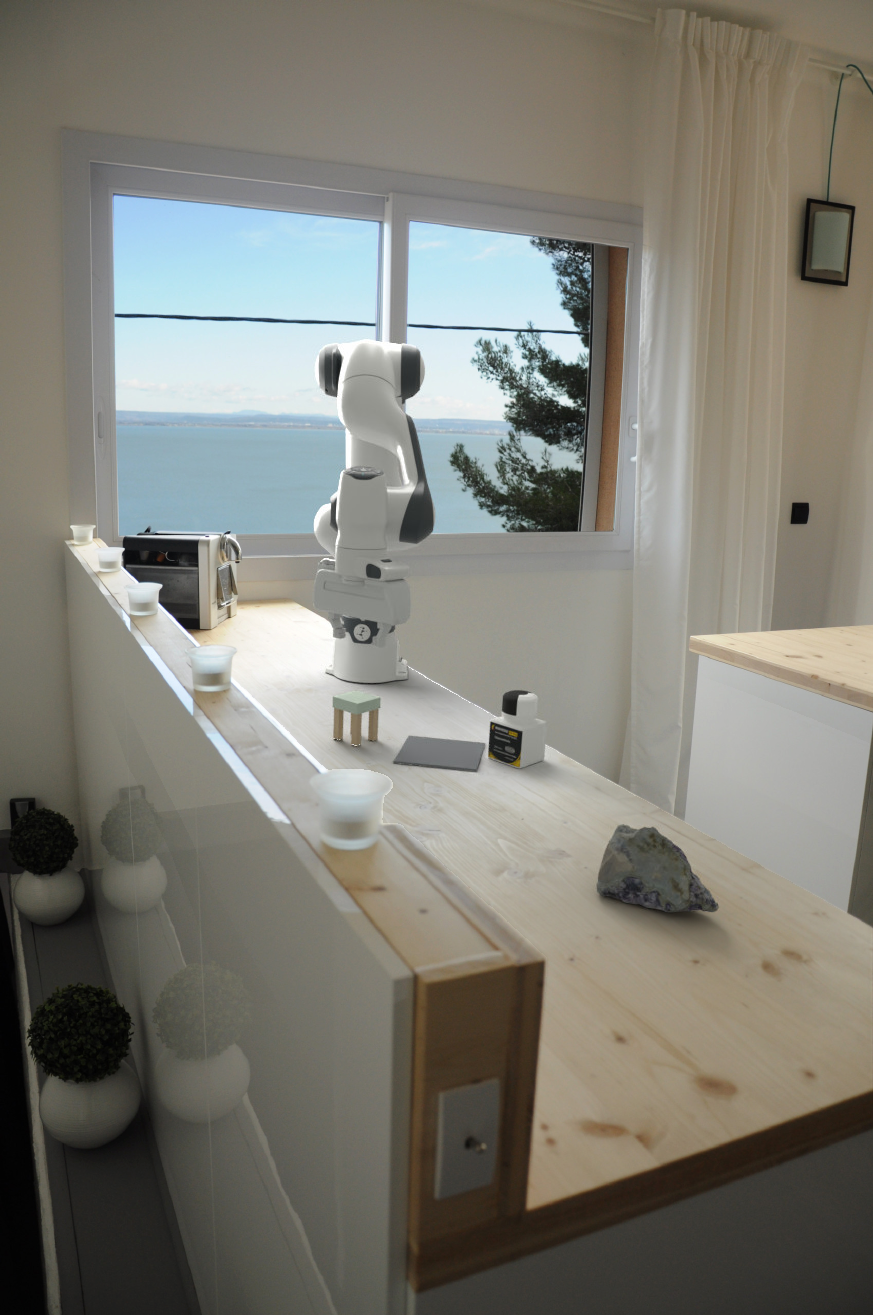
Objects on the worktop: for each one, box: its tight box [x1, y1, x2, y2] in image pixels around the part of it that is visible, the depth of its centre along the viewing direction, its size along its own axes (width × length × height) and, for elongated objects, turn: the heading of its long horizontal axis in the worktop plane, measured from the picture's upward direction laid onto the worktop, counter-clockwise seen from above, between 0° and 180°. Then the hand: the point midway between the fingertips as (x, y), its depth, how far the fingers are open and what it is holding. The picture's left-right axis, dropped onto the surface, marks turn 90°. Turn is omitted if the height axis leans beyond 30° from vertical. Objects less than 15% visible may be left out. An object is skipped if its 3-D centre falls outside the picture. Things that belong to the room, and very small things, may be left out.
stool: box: [332, 690, 382, 745], centre depth 169 cm, size 6×6×8 cm
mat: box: [393, 735, 486, 772], centre depth 165 cm, size 14×14×1 cm
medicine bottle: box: [487, 689, 548, 769], centre depth 163 cm, size 7×7×12 cm
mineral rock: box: [596, 824, 720, 913], centre depth 114 cm, size 13×11×10 cm
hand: (358, 642), depth 166 cm, fingers open, 8 cm apart
